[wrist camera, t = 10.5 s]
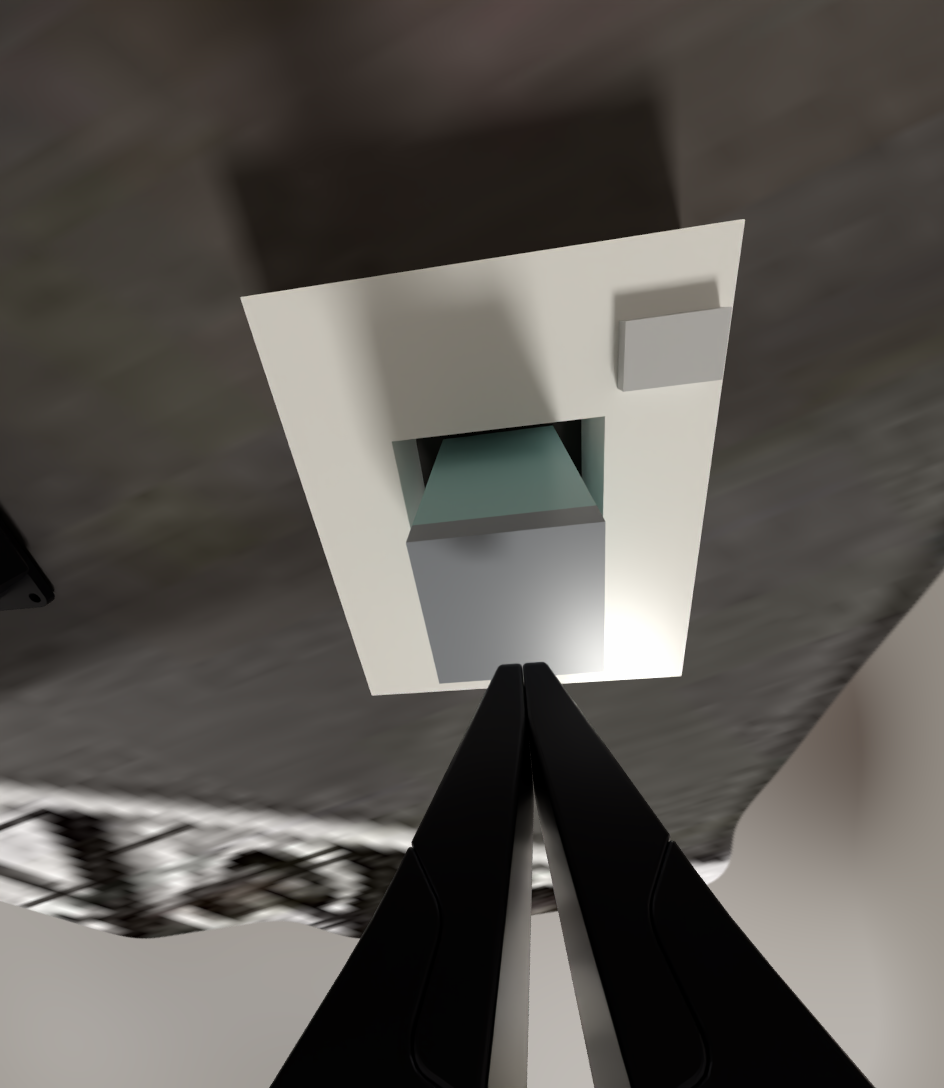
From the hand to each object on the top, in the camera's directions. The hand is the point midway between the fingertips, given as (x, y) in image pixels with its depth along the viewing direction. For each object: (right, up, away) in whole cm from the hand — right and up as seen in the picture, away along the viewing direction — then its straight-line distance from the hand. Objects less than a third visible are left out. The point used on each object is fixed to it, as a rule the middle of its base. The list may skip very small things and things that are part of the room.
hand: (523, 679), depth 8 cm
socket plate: (0, +5, +9) cm, 10 cm away
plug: (0, +5, +9) cm, 10 cm away
